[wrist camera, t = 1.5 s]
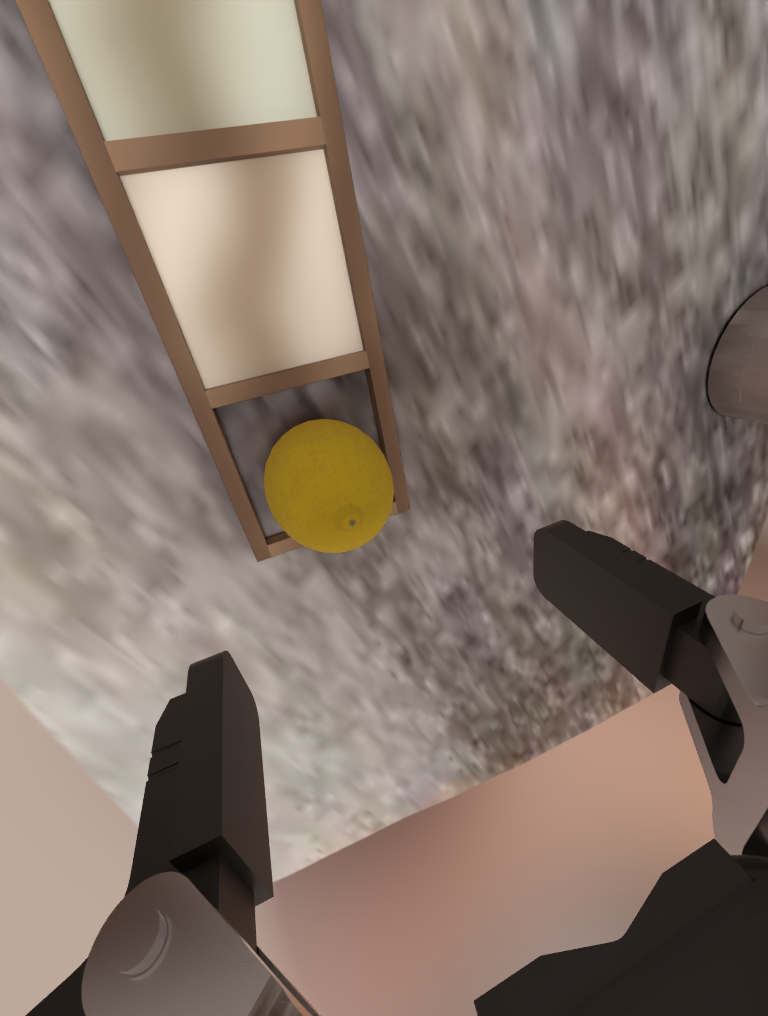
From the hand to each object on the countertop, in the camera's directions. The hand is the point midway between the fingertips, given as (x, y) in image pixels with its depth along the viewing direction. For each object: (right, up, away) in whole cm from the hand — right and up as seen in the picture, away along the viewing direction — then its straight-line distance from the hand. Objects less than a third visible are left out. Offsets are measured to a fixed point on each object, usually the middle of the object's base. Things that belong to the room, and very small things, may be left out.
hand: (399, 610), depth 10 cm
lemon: (-4, +5, +11) cm, 13 cm away
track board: (-6, +12, +7) cm, 15 cm away
